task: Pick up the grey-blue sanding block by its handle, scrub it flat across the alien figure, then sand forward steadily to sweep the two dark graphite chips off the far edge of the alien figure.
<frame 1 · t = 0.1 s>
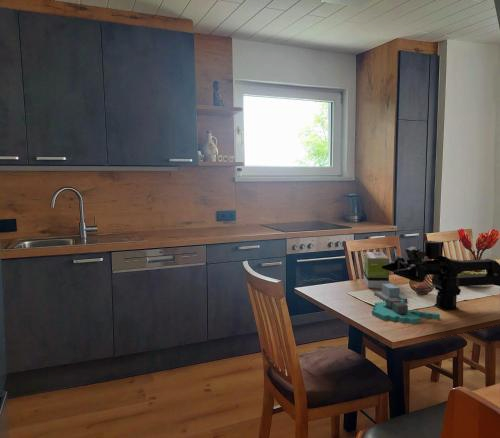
hand: (387, 269, 152), 17 cm above the table, tool horizontal, fingers open, 9 cm apart
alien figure: (398, 315, 151), on the table, touching graphite chip A, graphite chip B
sanding block: (390, 299, 169), on the table
graphite chip A: (393, 307, 154), point 2 cm above the table, touching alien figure
graphite chip B: (399, 311, 148), point 2 cm above the table, touching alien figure
tea box: (375, 284, 192), on the table
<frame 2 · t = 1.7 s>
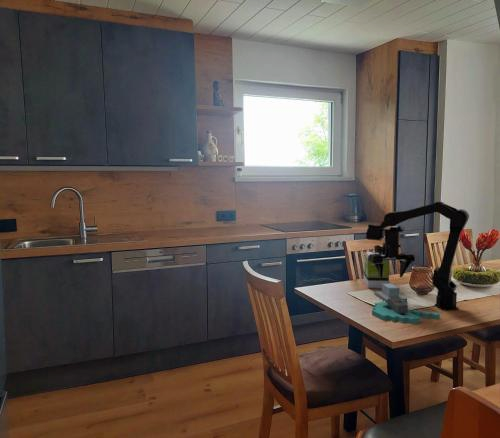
hand: (390, 277, 168), 9 cm above the table, tool pointing down, fingers open, 9 cm apart
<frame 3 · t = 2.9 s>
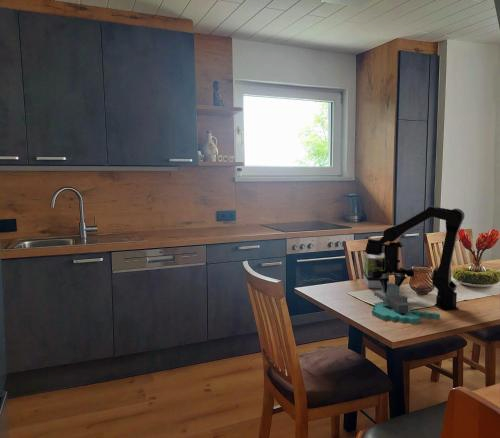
hand: (390, 292, 169), 3 cm above the table, tool pointing down, fingers closed on sanding block, 5 cm apart
sanding block: (390, 298, 169), on the table, touching gripper
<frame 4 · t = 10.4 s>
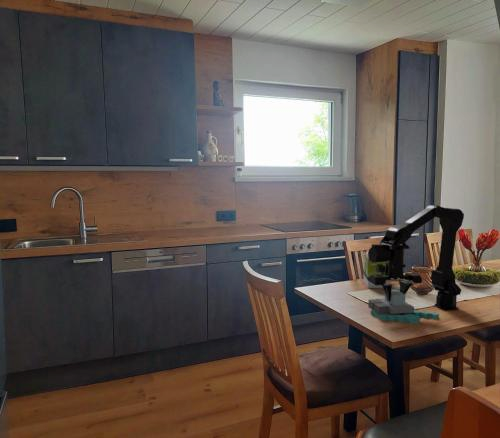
hand: (394, 300, 150), 5 cm above the table, tool pointing down, fingers closed on sanding block, 4 cm apart
sanding block: (394, 307, 151), point 2 cm above the table, touching graphite chip A, gripper
graphite chip A: (375, 308, 152), point 2 cm above the table, touching sanding block, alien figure
graphite chip B: (381, 312, 148), point 2 cm above the table, touching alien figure
everything else where it was.
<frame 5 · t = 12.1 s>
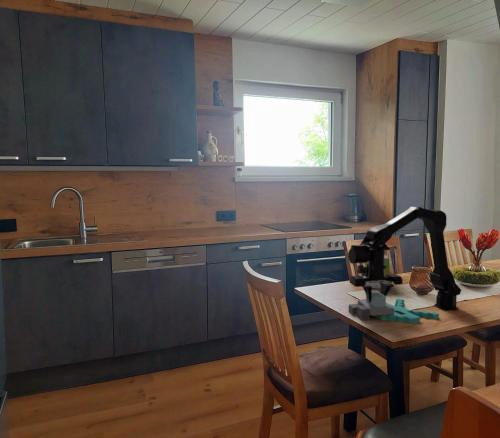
hand: (375, 302, 149), 5 cm above the table, tool pointing down, fingers closed on sanding block, 4 cm apart
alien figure: (397, 315, 151), on the table
sanding block: (375, 309, 150), point 2 cm above the table, touching graphite chip A, graphite chip B, gripper
graphite chip A: (355, 313, 152), on the table, touching sanding block
graphite chip B: (366, 312, 147), point 2 cm above the table, tilted 90°, touching sanding block
everything else where it was.
when the fingers open (5 cm above the table, at t = 14.9 s): sanding block stays where it is, resting on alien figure.
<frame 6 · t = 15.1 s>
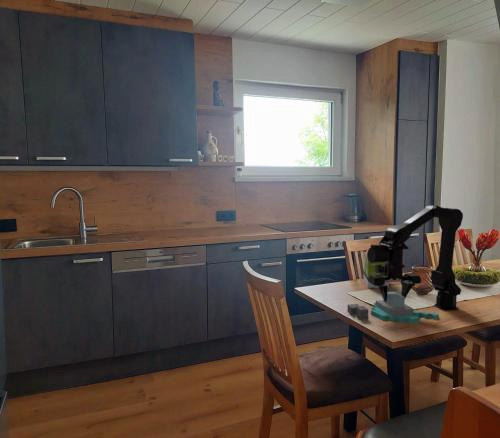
hand: (393, 301, 150), 5 cm above the table, tool pointing down, fingers open, 7 cm apart
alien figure: (398, 315, 151), on the table, touching sanding block
sanding block: (393, 309, 151), point 1 cm above the table, touching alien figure
graphite chip A: (354, 313, 152), on the table
graphite chip B: (365, 312, 147), point 2 cm above the table, tilted 90°
everything else where it was.
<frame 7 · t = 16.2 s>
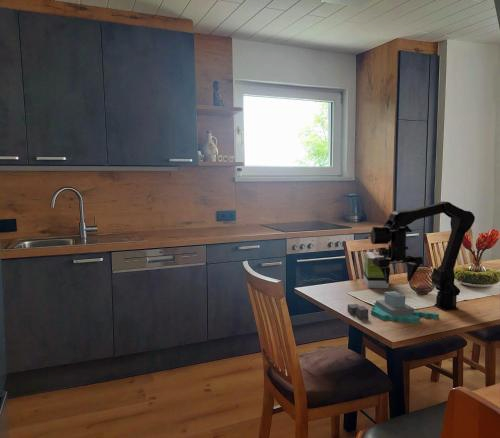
hand: (398, 282, 155), 11 cm above the table, tool pointing down, fingers open, 9 cm apart
nothing on the table moved.
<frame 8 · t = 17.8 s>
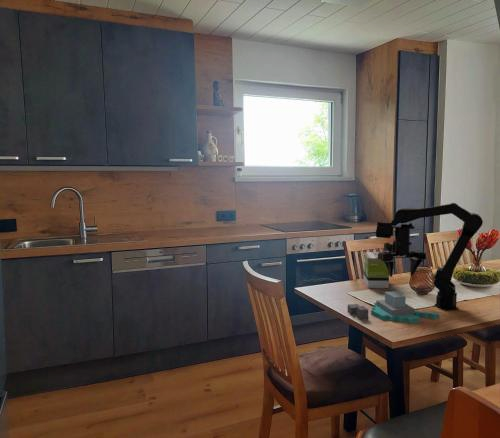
hand: (401, 276, 164), 11 cm above the table, tool pointing down, fingers open, 9 cm apart
nothing on the table moved.
at the end: graphite chip A inside the target area (3.1 cm from its centre), on the table; graphite chip B inside the target area (3.9 cm from its centre), point 1.9 cm above the table; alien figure moved 0.9 cm from its start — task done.
